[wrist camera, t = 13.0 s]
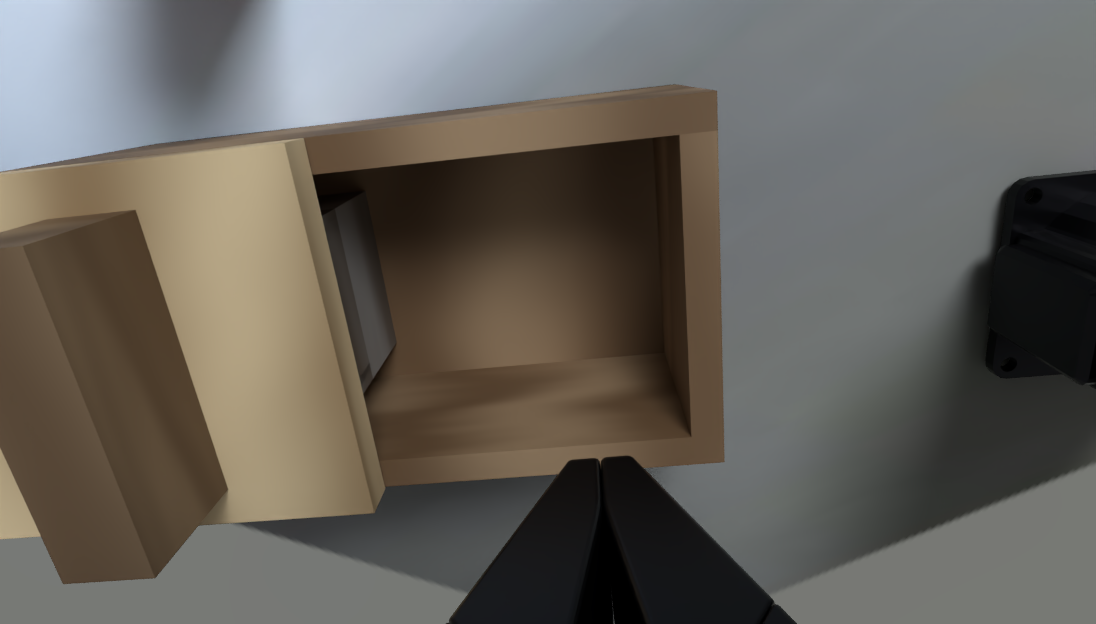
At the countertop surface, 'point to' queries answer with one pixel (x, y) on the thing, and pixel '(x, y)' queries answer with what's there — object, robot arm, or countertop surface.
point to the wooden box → (525, 279)
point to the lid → (172, 357)
